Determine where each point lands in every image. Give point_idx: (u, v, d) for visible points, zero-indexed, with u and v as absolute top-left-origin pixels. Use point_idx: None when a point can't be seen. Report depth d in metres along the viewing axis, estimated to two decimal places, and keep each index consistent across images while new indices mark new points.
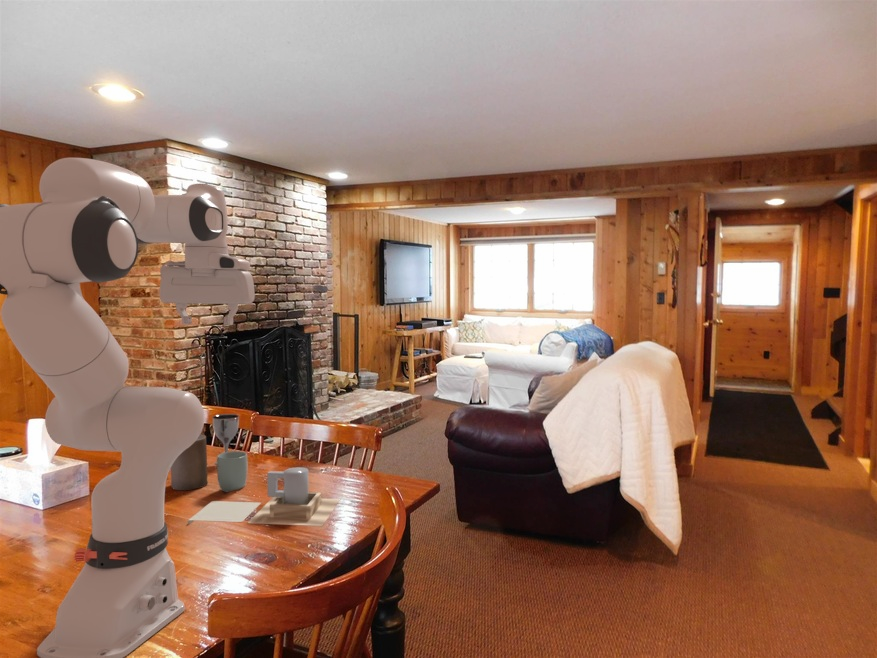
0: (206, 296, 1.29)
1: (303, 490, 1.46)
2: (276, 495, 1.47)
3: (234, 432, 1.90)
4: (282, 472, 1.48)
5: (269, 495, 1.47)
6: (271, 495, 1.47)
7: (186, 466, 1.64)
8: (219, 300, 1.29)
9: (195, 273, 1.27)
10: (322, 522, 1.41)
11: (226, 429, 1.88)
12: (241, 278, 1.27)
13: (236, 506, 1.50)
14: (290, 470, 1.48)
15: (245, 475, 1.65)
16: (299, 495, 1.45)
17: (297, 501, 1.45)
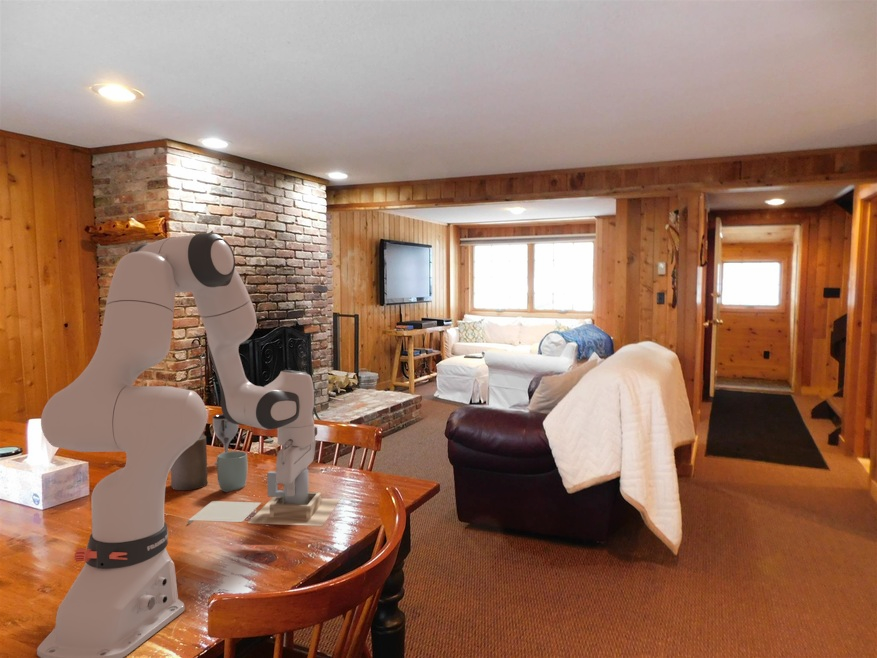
0: (304, 464, 1.48)
1: (303, 490, 1.46)
2: (276, 495, 1.47)
3: (234, 432, 1.90)
4: None
5: (269, 495, 1.47)
6: (271, 495, 1.47)
7: (186, 466, 1.64)
8: (307, 465, 1.51)
9: (306, 447, 1.46)
10: (322, 522, 1.41)
11: (226, 429, 1.88)
12: None
13: (236, 506, 1.50)
14: None
15: (245, 475, 1.65)
16: (299, 495, 1.45)
17: (297, 501, 1.45)
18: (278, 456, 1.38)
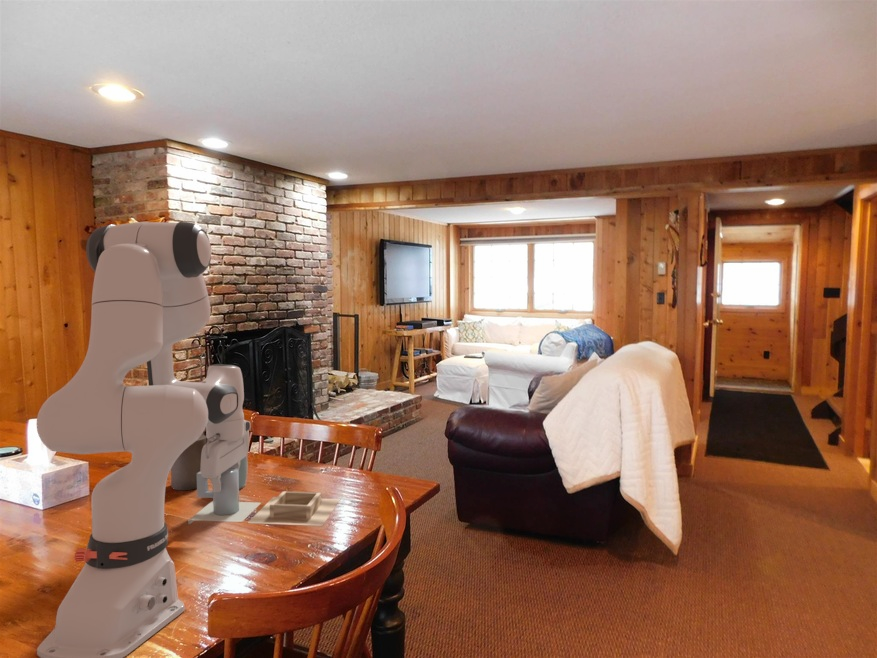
0: (234, 459, 1.47)
1: (232, 490, 1.45)
2: (205, 496, 1.46)
3: None
4: None
5: (198, 496, 1.46)
6: (200, 496, 1.46)
7: (186, 466, 1.64)
8: (238, 459, 1.50)
9: (234, 441, 1.45)
10: (322, 522, 1.41)
11: None
12: (248, 436, 1.55)
13: None
14: None
15: (245, 475, 1.65)
16: (227, 496, 1.44)
17: (225, 502, 1.44)
18: (203, 450, 1.37)
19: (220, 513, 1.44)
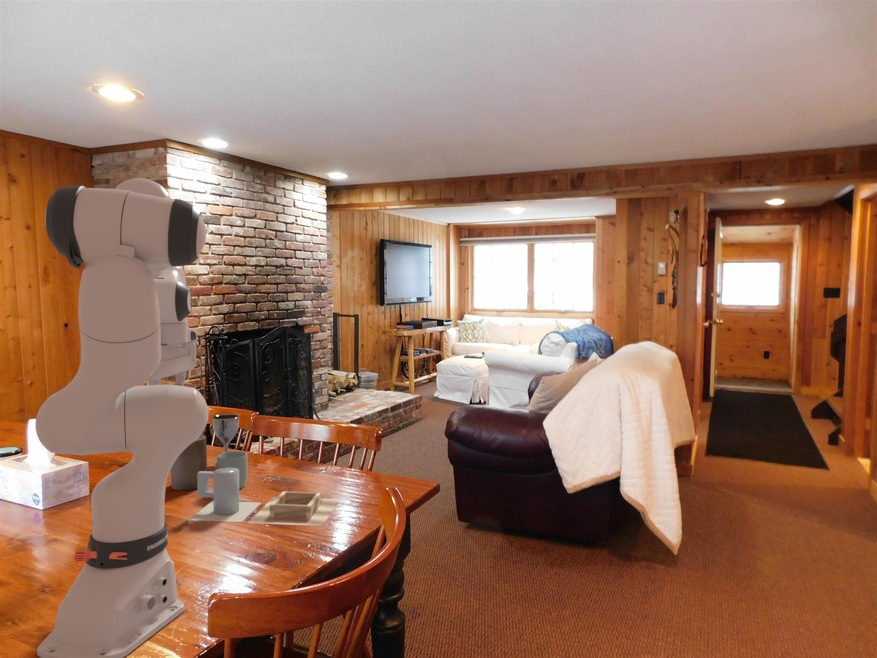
0: (177, 367, 1.38)
1: (232, 490, 1.45)
2: (206, 495, 1.46)
3: (234, 432, 1.90)
4: (212, 472, 1.47)
5: (199, 495, 1.47)
6: (201, 495, 1.47)
7: (186, 466, 1.64)
8: (183, 370, 1.41)
9: (177, 347, 1.36)
10: (322, 522, 1.41)
11: (226, 429, 1.88)
12: (195, 347, 1.46)
13: None
14: (220, 470, 1.47)
15: (245, 475, 1.65)
16: (227, 496, 1.44)
17: (225, 501, 1.44)
18: None
19: (220, 513, 1.44)
